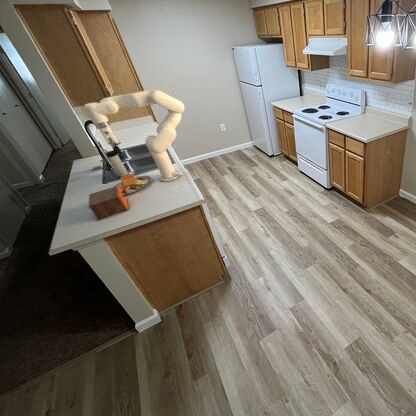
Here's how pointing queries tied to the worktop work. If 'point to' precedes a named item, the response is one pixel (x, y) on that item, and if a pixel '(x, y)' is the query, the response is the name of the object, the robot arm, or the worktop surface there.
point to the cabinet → (105, 203)
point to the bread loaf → (128, 180)
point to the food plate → (134, 187)
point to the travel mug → (117, 163)
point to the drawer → (122, 197)
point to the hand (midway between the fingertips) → (118, 153)
